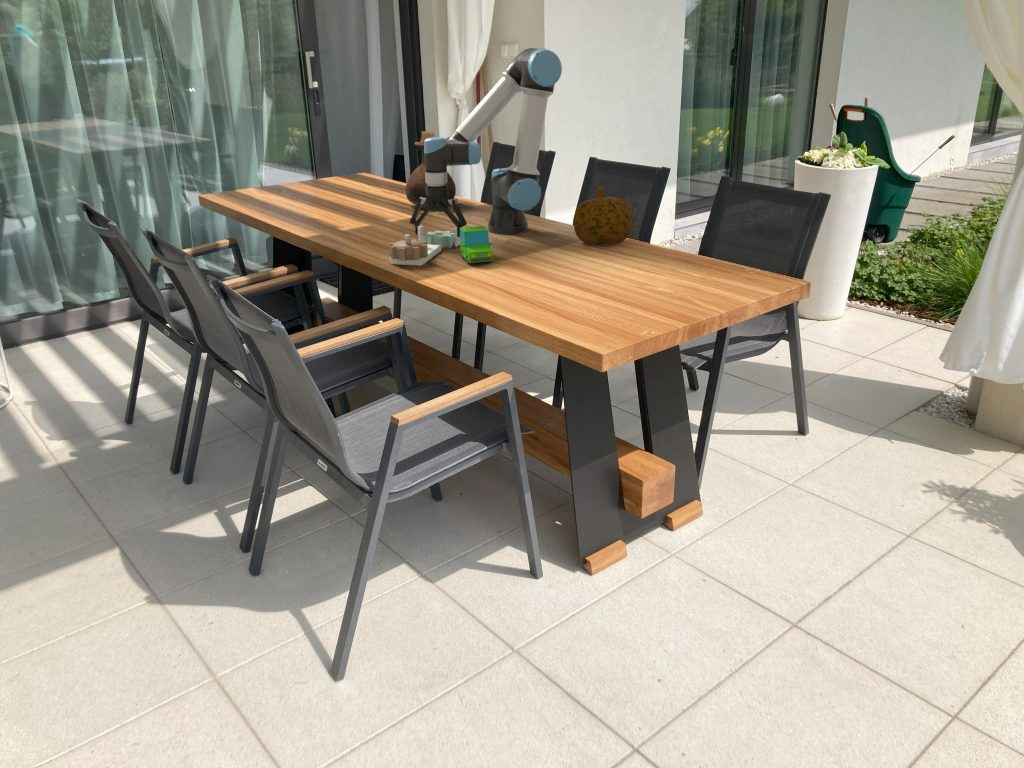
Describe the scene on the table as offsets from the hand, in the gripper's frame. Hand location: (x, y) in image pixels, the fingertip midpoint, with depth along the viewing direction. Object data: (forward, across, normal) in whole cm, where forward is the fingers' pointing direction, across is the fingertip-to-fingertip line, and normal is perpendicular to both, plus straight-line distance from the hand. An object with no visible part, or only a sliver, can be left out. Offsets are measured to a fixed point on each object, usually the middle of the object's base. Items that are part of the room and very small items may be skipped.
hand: (438, 244), depth 296 cm
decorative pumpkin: (0, -56, -15) cm, 58 cm away
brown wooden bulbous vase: (0, +26, -67) cm, 72 cm away
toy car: (0, -19, +18) cm, 26 cm away
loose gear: (0, 0, 0) cm, 0 cm away
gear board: (0, +2, +19) cm, 19 cm away
